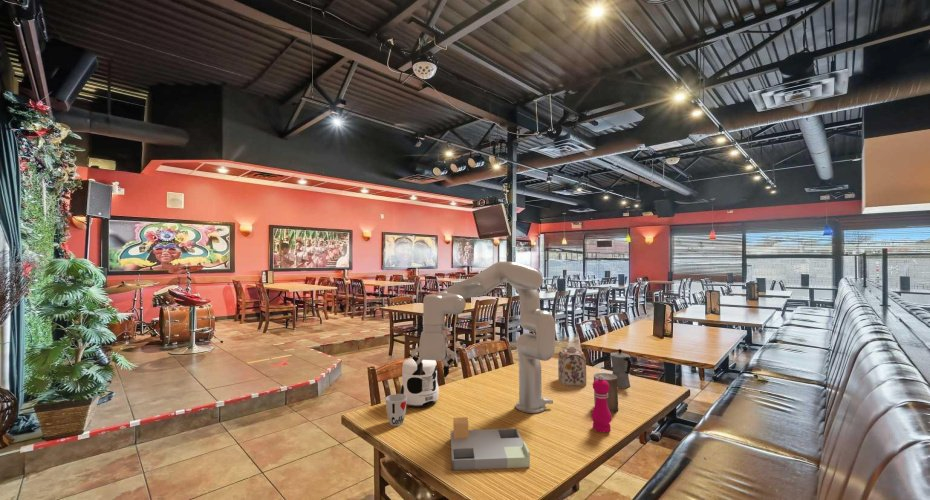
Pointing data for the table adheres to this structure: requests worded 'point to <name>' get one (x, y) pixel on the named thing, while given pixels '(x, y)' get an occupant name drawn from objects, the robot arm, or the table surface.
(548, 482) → the table surface
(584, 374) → the decorative jar
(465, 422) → the block
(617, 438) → the table surface
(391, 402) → the cup
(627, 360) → the coffeepot
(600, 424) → the pepper mill
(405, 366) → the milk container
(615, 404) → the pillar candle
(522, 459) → the grey sorting tray
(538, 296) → the robot arm
